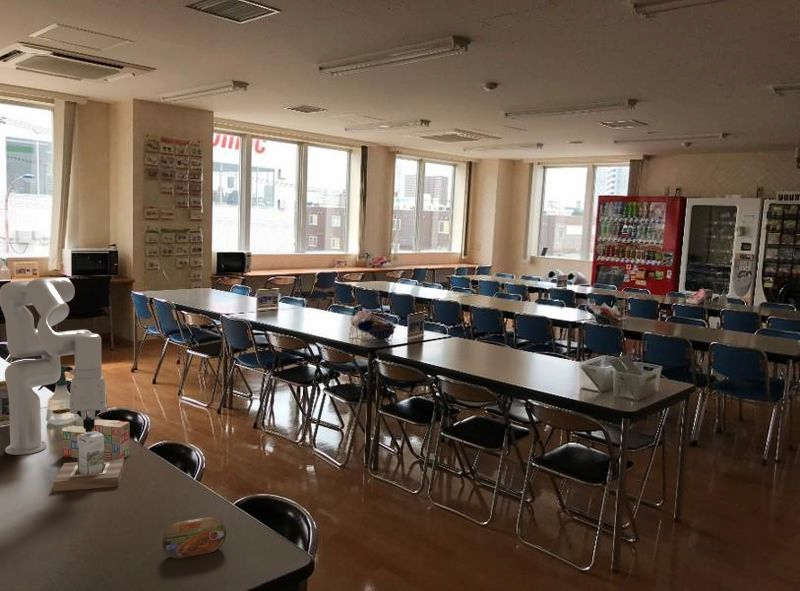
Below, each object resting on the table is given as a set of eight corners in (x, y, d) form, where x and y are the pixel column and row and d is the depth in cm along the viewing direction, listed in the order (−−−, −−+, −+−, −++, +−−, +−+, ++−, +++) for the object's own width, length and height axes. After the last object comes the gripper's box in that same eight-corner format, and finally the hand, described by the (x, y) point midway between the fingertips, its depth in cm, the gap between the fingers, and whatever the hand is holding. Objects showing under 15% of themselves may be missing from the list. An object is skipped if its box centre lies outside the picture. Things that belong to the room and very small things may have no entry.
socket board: (64, 472, 210) (64, 462, 210) (124, 467, 216) (124, 458, 215) (53, 491, 195) (53, 481, 195) (118, 486, 200) (118, 476, 200)
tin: (162, 561, 157) (162, 527, 156) (161, 555, 160) (161, 522, 159) (226, 550, 163) (226, 518, 162) (224, 544, 166) (224, 513, 165)
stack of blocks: (62, 457, 224) (61, 422, 223) (73, 451, 230) (73, 417, 229) (120, 461, 221) (119, 426, 220) (130, 455, 227) (129, 421, 226)
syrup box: (95, 474, 209) (94, 430, 208) (104, 478, 206) (104, 434, 205) (77, 479, 205) (76, 434, 203) (87, 484, 201) (86, 438, 200)
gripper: (59, 376, 196) (60, 435, 198) (112, 375, 201) (113, 433, 203) (64, 371, 203) (65, 428, 205) (115, 369, 208) (116, 425, 210)
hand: (89, 430), depth 204 cm, fingers closed
